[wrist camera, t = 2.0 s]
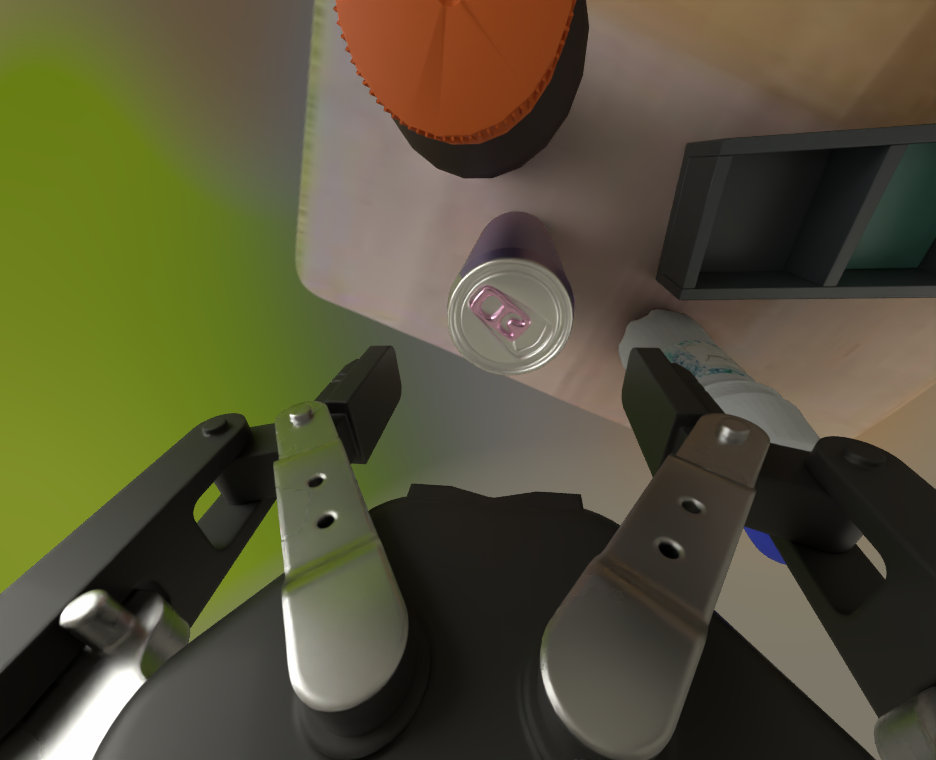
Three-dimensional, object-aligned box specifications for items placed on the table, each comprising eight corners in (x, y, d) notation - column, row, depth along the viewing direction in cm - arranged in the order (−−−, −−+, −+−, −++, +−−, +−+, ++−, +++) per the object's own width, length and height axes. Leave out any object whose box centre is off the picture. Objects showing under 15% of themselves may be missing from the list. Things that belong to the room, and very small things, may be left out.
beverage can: (511, 192, 26) (502, 220, 13) (567, 246, 27) (608, 317, 15) (463, 255, 29) (417, 327, 16) (516, 301, 30) (512, 400, 18)
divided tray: (686, 143, 23) (723, 138, 19) (1001, 120, 20) (1125, 110, 16) (655, 279, 28) (679, 300, 24) (907, 275, 25) (984, 297, 21)
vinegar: (554, 161, 24) (626, 157, 8) (461, 179, 26) (349, 209, 9) (550, 31, 21) (663, -490, 4) (443, 60, 22) (205, -250, 6)
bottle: (713, 328, 29) (972, 551, 12) (651, 382, 33) (788, 615, 16) (653, 285, 28) (850, 468, 11) (595, 346, 31) (680, 556, 15)
